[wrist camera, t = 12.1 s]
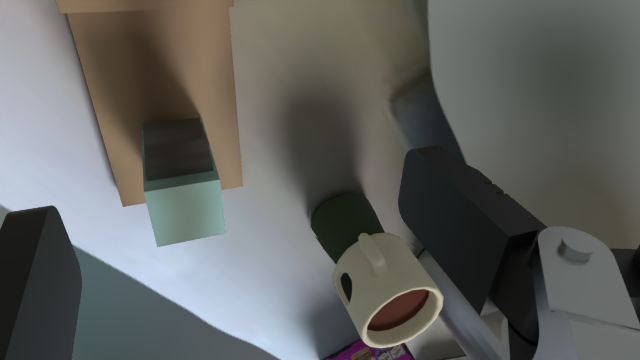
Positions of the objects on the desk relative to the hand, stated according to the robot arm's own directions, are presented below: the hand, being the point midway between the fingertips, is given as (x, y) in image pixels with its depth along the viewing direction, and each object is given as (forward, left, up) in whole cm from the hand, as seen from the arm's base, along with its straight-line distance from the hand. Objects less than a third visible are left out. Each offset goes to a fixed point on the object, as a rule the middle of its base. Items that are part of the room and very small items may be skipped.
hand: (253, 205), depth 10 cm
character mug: (-12, +20, -22) cm, 32 cm away
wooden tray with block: (+2, +2, -22) cm, 22 cm away
